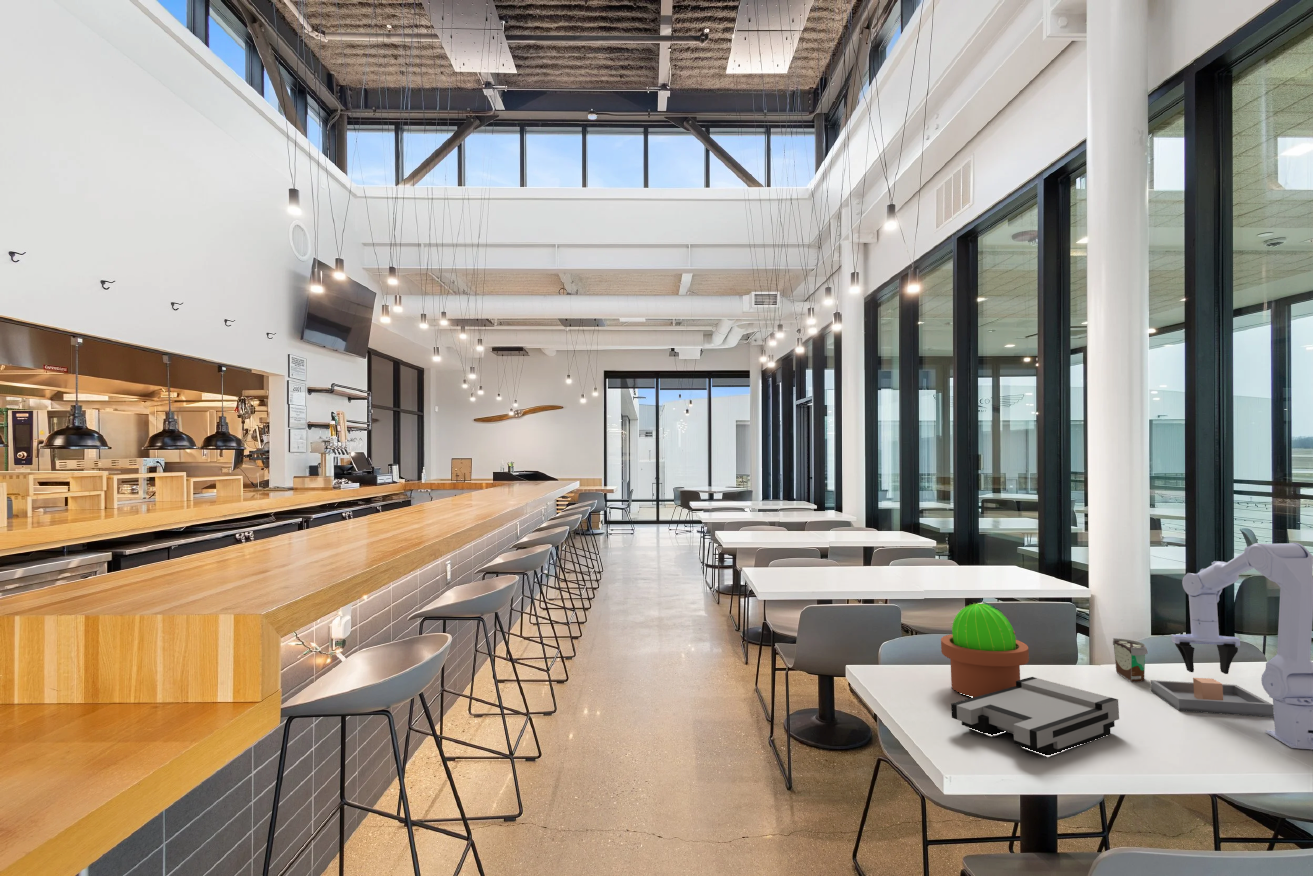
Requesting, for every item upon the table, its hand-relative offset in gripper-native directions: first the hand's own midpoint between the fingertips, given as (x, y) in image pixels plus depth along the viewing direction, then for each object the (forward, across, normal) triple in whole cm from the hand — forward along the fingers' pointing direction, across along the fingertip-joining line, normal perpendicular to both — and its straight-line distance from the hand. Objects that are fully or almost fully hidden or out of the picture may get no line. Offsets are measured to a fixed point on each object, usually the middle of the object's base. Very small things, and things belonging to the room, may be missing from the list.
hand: (1207, 672), depth 177 cm
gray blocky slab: (+9, +49, +31) cm, 59 cm away
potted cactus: (+8, +54, +2) cm, 55 cm away
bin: (+8, 0, 0) cm, 8 cm away
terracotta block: (+7, 0, 0) cm, 7 cm away
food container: (+8, +9, -21) cm, 24 cm away
